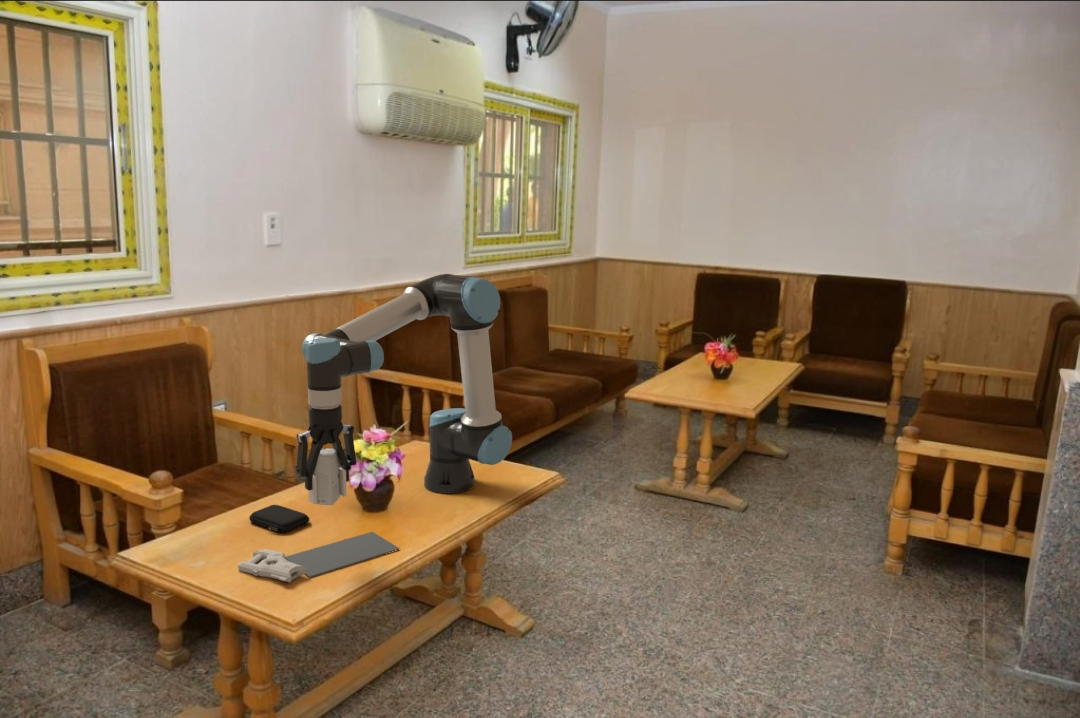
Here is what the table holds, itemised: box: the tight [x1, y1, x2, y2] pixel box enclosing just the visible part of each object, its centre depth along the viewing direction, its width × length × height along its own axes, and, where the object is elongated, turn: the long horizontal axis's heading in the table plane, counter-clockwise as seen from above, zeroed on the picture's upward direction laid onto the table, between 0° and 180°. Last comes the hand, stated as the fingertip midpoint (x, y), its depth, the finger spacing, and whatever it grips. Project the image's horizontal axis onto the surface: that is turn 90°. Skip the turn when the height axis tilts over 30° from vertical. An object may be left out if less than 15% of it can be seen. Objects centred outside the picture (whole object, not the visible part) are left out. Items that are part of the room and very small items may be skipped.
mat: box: [285, 531, 401, 579], centre depth 204 cm, size 24×13×1 cm, turn 132°
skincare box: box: [313, 447, 341, 506], centre depth 198 cm, size 6×4×12 cm
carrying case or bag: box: [248, 504, 310, 534], centre depth 221 cm, size 11×3×15 cm
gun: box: [237, 548, 307, 583], centre depth 194 cm, size 18×3×10 cm
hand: (327, 498), depth 199 cm, fingers closed on skincare box, 7 cm apart
